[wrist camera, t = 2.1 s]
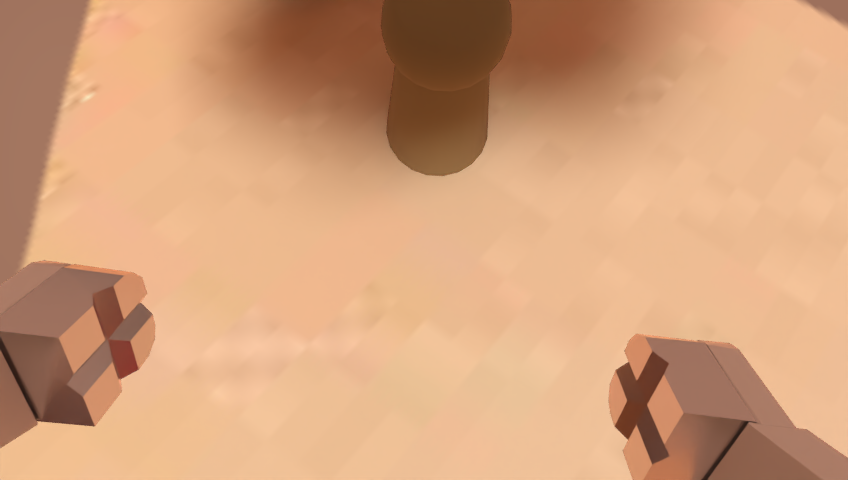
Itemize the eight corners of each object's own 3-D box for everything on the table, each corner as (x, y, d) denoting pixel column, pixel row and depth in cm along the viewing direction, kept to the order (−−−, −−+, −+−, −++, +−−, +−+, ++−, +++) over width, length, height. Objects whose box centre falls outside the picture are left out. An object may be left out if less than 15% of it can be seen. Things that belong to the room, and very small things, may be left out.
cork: (440, 63, 29) (453, -103, 18) (508, 132, 28) (565, -1, 17) (365, 124, 28) (331, -15, 17) (433, 196, 27) (443, 98, 16)
